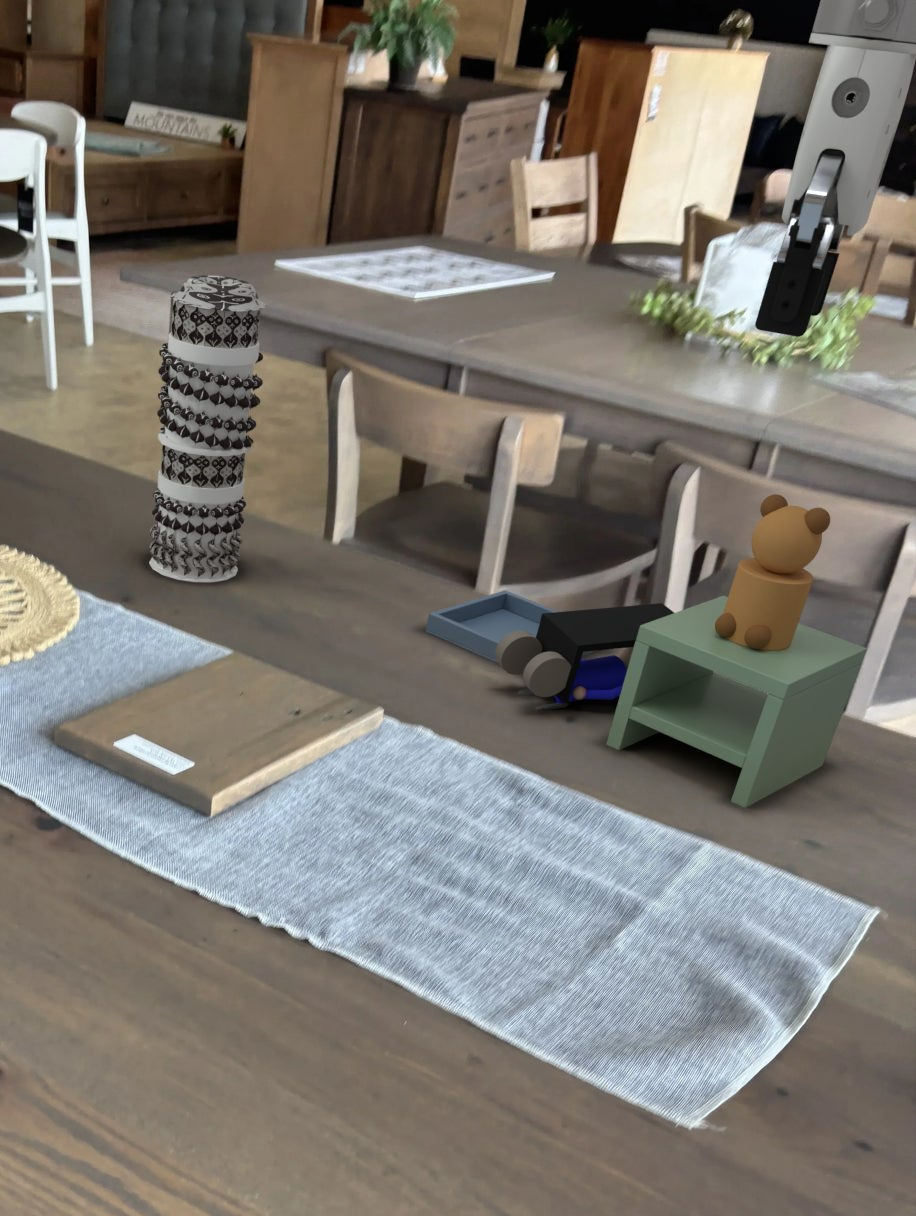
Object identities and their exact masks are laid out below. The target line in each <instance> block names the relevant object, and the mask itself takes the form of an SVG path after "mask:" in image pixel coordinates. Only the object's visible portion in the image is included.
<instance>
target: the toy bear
mask: <svg viewBox="0 0 916 1216" xmlns="http://www.w3.org/2000/svg"><path fill="white" fill-rule="evenodd" d="M759 509H760V510H759V511H760V514H761V516H762V517H761V518H760V520H759V521H758V522H757V524H756V526H755V527H754V530H753V532H752V536H751V543H750V544H751V546H750V547H751V552H752V555H753V557H750V558H743V559H741V560H740V561H739V562H738V565H737V568H736V570H735V574H734V577H733V580H732V583H731V587H730V590H729V593H728V595H727V597H728V599H727V602H726V605H725V608H724V611H723V614H722V615H721V616H719V617H718V619H717V620H716V623H715V630H716V632H717V634H718V635H719V636H721V637H723V638H726V639H728V640H730V641H732V642H734V643H737V644H739V645H742V646H746V647H749V648H752V649H760V650H783V649H786V648H788V647H789V646H790V645H791V642H792V639H793V637H794V634H795V631H796V628H797V625H798V623H800V619H801V616H802V614H803V611H804V609H805V605H806V603H807V599H808V596H809V594H810V591H811V588H812V585H813V583H814V579H815V577H814V575H813V574H812V573H811V572H809V571H808V570H807V569H805V568H806V567H807V566H808V565H809V564H810V563H811V562H812V561H813V560H814V559H815V558H816V556H817V554H818V553H819V551H820V549H821V546H822V542H823V533H824V532H826V531H827V530H828V529H829V526H830V524H831V516H830V513H829V512H828V510H826V509H825V508H823V507H813V508H811V509H809V510H808V509H807V508H804V507H801V506H799V505H798V506H797V505H789V503H788V501H787V499H786V498H785V496H783V495H781V494H770V495H769V496H767V497H765V498H764V499H763V501H762V502H761V505H760V508H759Z"/></svg>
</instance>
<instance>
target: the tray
mask: <svg viewBox="0 0 916 1216" xmlns="http://www.w3.org/2000/svg"><path fill="white" fill-rule="evenodd" d="M553 612H559V611H558V610H556V609H553V608H551V607H548V606H545V605H543V604H540V603H538V602H536V601H532V600H530V599H528V598H525V597H524V596H520V595H518V594H515V593H513V592H511V591H508V590H501V591H498V592H495V593H492V594H488V595H485V596H481V597H478V598H475V599H471V600H469V601H465V602H461V603H459V604H458V603H457V604H455V605H452V606H448V607H446V608H442V609H439V610H435V611H432V612H429V613H428V617H427V622H426V628H425V632H426V633H429V634H431V635H433V636H436V637H438V638H440V639H442V640H444V641H446V642H449V643H451V644H454V645H456V646H458V647H460V648H463V649H465V650H467V651H469V652H471V653H474V654H476V655H479V656H481V657H482V658H485V659H488V660H490V661H491V662H494V663H497V661H496V659H495V650H496V647H497V645H498V643H499V642H500V641H501V640H502V638H504V637H505V636H506V635H507V634H509V633H511V632H514V631H517V630H525V631H528V632H530V633H531V634H532V635H533V636H534V637H536V635H537V632H538V628H539V624H540V621H541V615H542V613H553ZM598 651H599V650H597V651H587V652H583V654H582V657H585V656H587V655H589V654H593V653H595V652H598ZM497 664H498V663H497Z"/></svg>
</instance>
